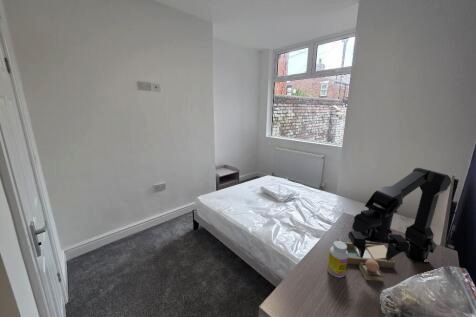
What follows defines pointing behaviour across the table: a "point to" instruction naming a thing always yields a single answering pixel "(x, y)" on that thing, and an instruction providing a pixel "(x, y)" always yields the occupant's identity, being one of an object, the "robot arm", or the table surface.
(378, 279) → the grey framed beige square
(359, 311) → the table surface
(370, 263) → the ball
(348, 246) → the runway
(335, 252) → the supplement bottle
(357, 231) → the end cap
